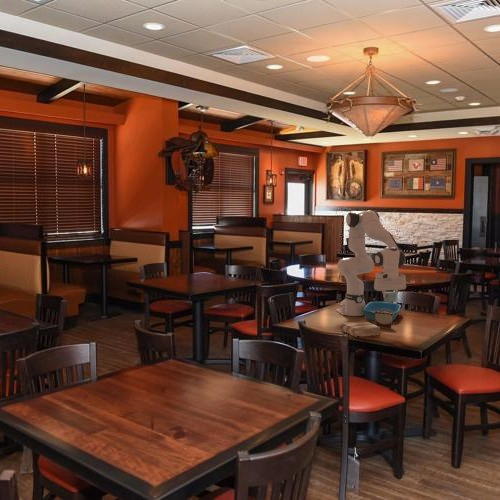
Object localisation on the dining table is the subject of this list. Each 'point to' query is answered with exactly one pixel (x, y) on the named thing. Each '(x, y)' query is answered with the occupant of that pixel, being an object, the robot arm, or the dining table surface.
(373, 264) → the robot arm
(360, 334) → the folded beige towel
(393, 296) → the teal block
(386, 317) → the food container
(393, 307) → the casserole dish
